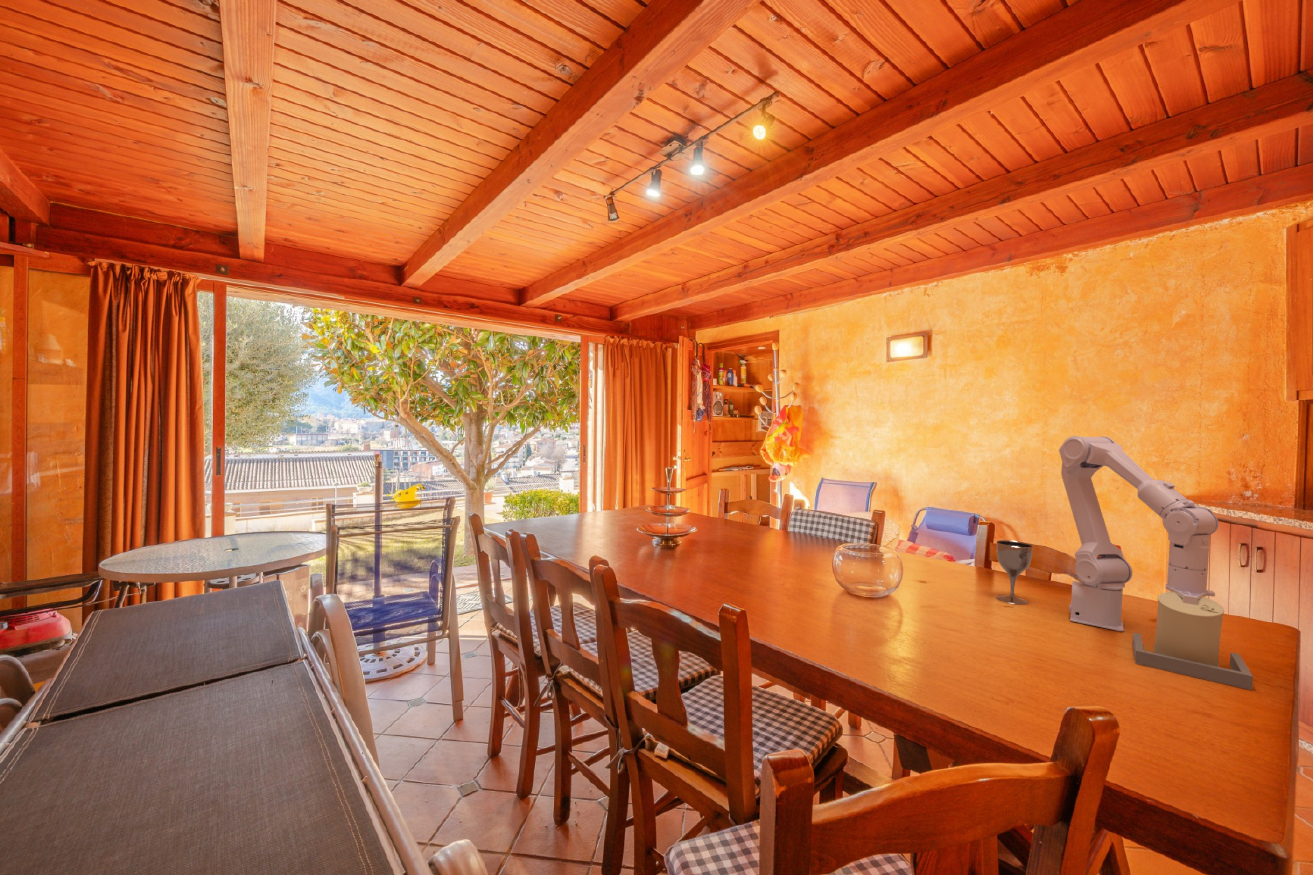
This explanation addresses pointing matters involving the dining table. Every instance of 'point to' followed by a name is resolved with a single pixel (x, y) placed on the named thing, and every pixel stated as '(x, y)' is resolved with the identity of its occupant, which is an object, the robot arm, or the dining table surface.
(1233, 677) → the holder
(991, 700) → the dining table surface
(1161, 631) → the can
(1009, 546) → the wine glass
